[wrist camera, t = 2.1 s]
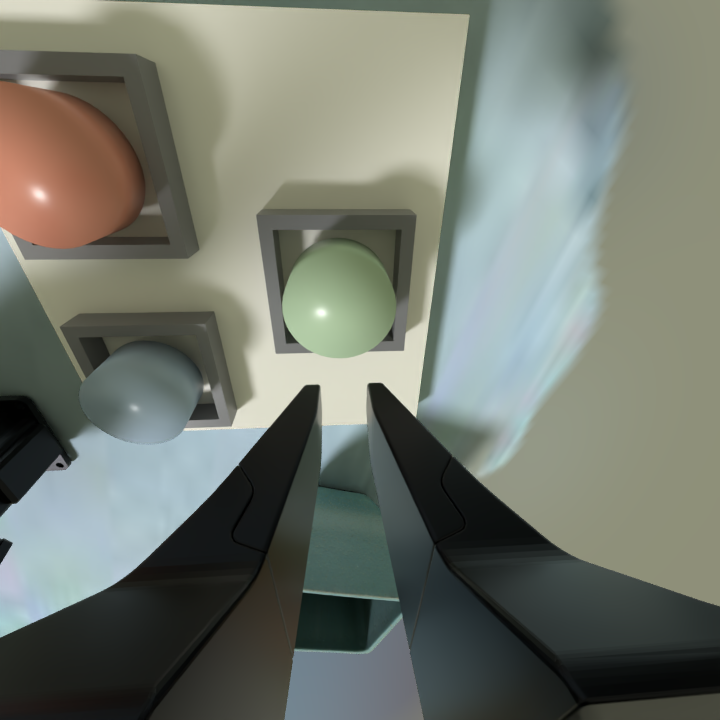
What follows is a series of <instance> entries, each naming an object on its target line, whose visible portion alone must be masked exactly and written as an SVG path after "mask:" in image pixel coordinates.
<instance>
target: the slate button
mask: <svg viewBox="0 0 720 720" xmlns="http://www.w3.org/2000/svg"><path fill="white" fill-rule="evenodd" d="M203 389H204V382H203V377H202V375H201V372H200V370H199V369H198V367H197V366H196V364H195V363H194V362H193V361H192V360H191V359H190V358H189V357H188V356H187V355H185V354H184V353H183V352H181V351H179V350H178V349H176V348H174V347H172V346H169V345H167V344H164V343H160V342H156V341H145V340H142V341H134V342H130V343H127V344H124V345H123V346H121V347H119V348H118V349H117V350H116V351H115V352H113V353H112V354H111V355H110V356H109V357H108V358H107V359H106V360H105V361H104V362H103V363H102V364H101V365H100V366H99V367H98V368H97V369H96V370H95V371H93V372H92V373H91V374H90V375H89V376H88V377H87V378H86V379H85V380H84V381H83V383H82V385H81V387H80V390H79V402H80V405H81V408H82V410H83V412H84V413H85V415H86V416H87V417H88V418H89V420H90V421H91V422H92V423H93V424H94V425H96V426H97V427H98V428H99V429H101V430H102V431H104V432H106V433H107V434H109V435H111V436H113V437H116V438H118V439H121V440H124V441H127V442H131V443H137V444H158V443H163V442H167V441H169V440H172V439H174V438H175V437H177V436H178V435H179V434H180V433H181V432H182V431H183V430H184V428H185V426H186V424H187V422H188V421H189V419H190V417H191V415H192V413H193V411H194V409H195V407H196V405H197V403H198V401H199V400H200V398H201V396H202V393H203Z"/></svg>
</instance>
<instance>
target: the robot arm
mask: <svg viewBox="0 0 720 720" xmlns="http://www.w3.org/2000/svg"><path fill="white" fill-rule="evenodd" d="M366 414H367V427H368V441H369V454H370V462H371V468H372V473H373V478H374V482H375V487H376V492H377V497H378V501H379V506H380V511H381V516H382V521H383V525H384V530H385V535H386V540H387V545H388V549H389V554H390V559H391V564H392V569H393V573H394V578H395V583H396V588H397V592H398V597H399V602H400V607H401V612H402V616H403V621H404V626H405V631H406V635H407V640H408V645H409V649H410V655H411V660H412V665H413V669H414V674H415V679H416V684H417V689H418V693H419V697H420V703H421V707H422V712H423V717H424V720H720V606H717V605H713V604H710V603H707V602H704V601H700V600H697V599H695V598H692V597H689V596H686V595H683V594H680V593H677V592H674V591H671V590H668V589H665V588H662V587H659V586H656V585H653V584H650V583H647V582H644V581H642V580H639V579H636V578H632V577H630V576H627V575H624V574H621V573H618V572H615V571H612V570H609V569H606V568H603V567H600V566H597V565H594V564H591V563H589V562H586V561H583V560H580V559H578V558H576V557H574V556H572V555H570V554H568V553H567V552H565V551H563V550H561V549H560V548H559V547H557V546H556V545H554V544H553V543H551V542H550V541H549V540H548V539H546V538H545V537H544V536H543V535H541V534H540V533H539V532H538V531H537V530H535V529H534V528H533V527H532V526H531V525H529V524H528V523H527V522H526V521H524V519H522V518H521V517H520V516H519V515H518V514H516V513H515V512H514V511H513V510H512V509H510V508H509V507H508V506H507V505H506V504H504V503H503V502H502V501H501V500H500V499H498V498H497V497H496V496H495V495H494V494H493V493H492V492H490V491H489V490H488V489H487V488H486V487H485V486H484V485H483V484H481V483H480V482H479V481H478V480H477V479H476V478H475V477H474V476H473V475H472V474H471V473H470V472H469V471H468V470H467V469H466V468H465V467H464V466H463V465H462V464H461V463H460V462H459V461H458V460H457V459H456V458H455V457H452V454H451V453H450V452H449V451H448V450H447V449H446V448H445V447H444V446H443V445H442V444H441V443H440V442H439V441H438V440H437V439H436V438H435V437H434V436H433V435H432V434H431V433H430V432H429V431H428V430H427V428H426V427H425V426H424V425H423V424H422V423H421V422H420V421H419V420H418V419H417V418H416V417H415V416H414V415H413V414H412V413H411V412H410V411H409V410H408V409H407V408H406V407H405V406H404V405H403V404H402V403H401V402H400V401H399V400H398V399H397V398H396V397H395V396H394V395H393V394H392V392H391V391H390V390H389V389H388V388H387V387H386V386H385V385H384V384H383V383H368V384H367V399H366ZM321 454H322V402H321V387H320V385H319V384H311V385H305V386H304V387H303V388H302V389H301V390H300V392H299V393H298V394H297V395H296V396H295V398H294V399H293V400H292V401H291V402H290V403H289V405H288V406H287V407H286V408H285V409H284V411H283V412H282V413H281V414H280V415H279V417H278V418H277V419H276V420H275V421H274V422H273V424H272V425H271V426H270V427H269V428H268V430H267V431H266V432H265V433H264V434H263V436H262V437H261V438H260V439H259V440H258V442H257V443H256V444H255V445H254V446H253V447H252V449H251V450H250V451H249V452H248V453H247V455H246V456H245V457H244V458H243V459H242V461H241V462H240V463H239V466H236V467H235V469H234V470H233V471H232V472H231V473H230V475H229V476H228V477H227V478H226V479H225V480H224V481H223V483H222V484H221V485H220V486H219V487H218V488H217V489H216V490H215V492H214V493H213V494H212V495H211V496H210V497H209V498H208V499H207V500H206V501H205V502H204V503H203V504H202V505H201V506H200V507H199V508H198V509H197V510H196V511H195V512H194V513H193V514H192V515H191V516H190V517H189V518H188V519H187V520H186V521H185V522H184V523H183V524H182V525H181V526H180V527H179V528H178V529H177V530H175V531H174V532H173V533H172V534H171V535H170V536H169V537H168V538H167V539H166V540H165V541H164V542H163V543H162V544H161V545H160V546H159V547H158V548H157V549H156V550H155V551H154V552H153V553H152V554H151V555H150V556H149V557H148V558H147V559H146V560H144V561H143V562H142V563H141V564H140V565H139V566H138V567H137V568H136V569H134V570H133V571H132V572H131V573H129V574H128V575H127V576H126V577H124V578H123V579H121V580H120V581H118V582H117V583H115V584H114V585H112V586H110V587H109V588H107V589H105V590H103V591H101V592H99V593H97V594H95V595H93V596H90V597H88V598H86V599H84V600H82V601H79V602H77V603H75V604H73V605H71V606H69V607H66V608H64V609H62V610H60V611H58V612H55V613H53V614H51V615H49V616H47V617H45V618H42V619H40V620H38V621H36V622H34V623H31V624H29V625H27V626H25V627H23V628H21V629H18V630H16V631H14V632H12V633H10V634H7V635H5V636H3V637H1V638H0V720H284V718H285V711H286V704H287V697H288V690H289V682H290V677H291V670H292V663H293V660H292V658H293V655H294V649H295V642H296V635H297V628H298V621H299V614H300V607H301V600H302V593H303V586H304V580H305V573H306V566H307V559H308V552H309V545H310V538H311V531H312V524H313V518H314V511H315V504H316V497H317V490H318V483H319V476H320V469H321ZM70 465H71V460H70V459H69V457H68V456H67V454H66V452H65V451H64V449H63V448H62V446H61V445H60V443H59V442H58V440H57V439H56V437H55V435H54V434H53V432H52V431H51V429H50V428H49V426H48V425H47V423H46V422H45V420H44V418H43V417H42V415H41V414H40V412H39V411H38V409H37V408H36V406H35V405H34V403H33V402H32V400H31V399H29V398H27V397H24V396H2V397H0V517H1V516H2V515H3V514H4V512H5V511H6V510H7V509H8V508H9V507H10V506H11V505H12V504H15V503H18V502H19V501H20V500H21V498H22V497H23V496H24V495H25V494H26V493H27V492H28V491H29V489H30V488H31V487H32V486H33V485H34V484H35V483H36V481H37V480H38V479H39V478H40V477H41V476H42V475H43V473H44V472H45V471H52V470H66V469H67V468H68V467H69V466H70ZM12 544H13V543H12V542H10V541H8V540H6V539H0V564H1V562H2V561H3V559H4V557H5V556H6V554H7V552H8V551H9V549H10V547H11V546H12Z"/></svg>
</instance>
